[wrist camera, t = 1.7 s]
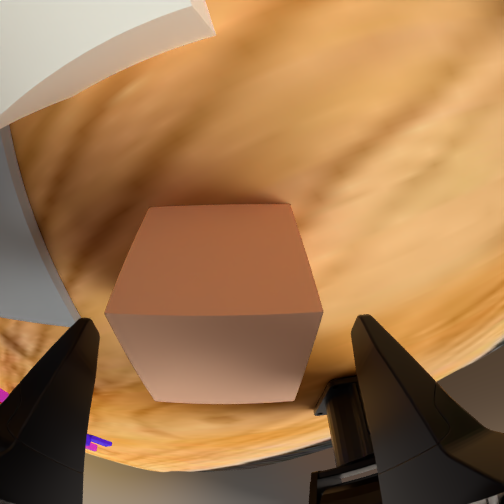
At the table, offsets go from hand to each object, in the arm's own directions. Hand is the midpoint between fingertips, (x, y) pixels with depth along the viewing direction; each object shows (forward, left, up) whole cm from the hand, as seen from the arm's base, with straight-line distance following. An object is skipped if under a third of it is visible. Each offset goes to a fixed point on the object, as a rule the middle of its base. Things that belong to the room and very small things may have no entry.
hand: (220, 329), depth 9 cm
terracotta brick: (0, 0, -3) cm, 3 cm away
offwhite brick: (+10, +3, -3) cm, 11 cm away
